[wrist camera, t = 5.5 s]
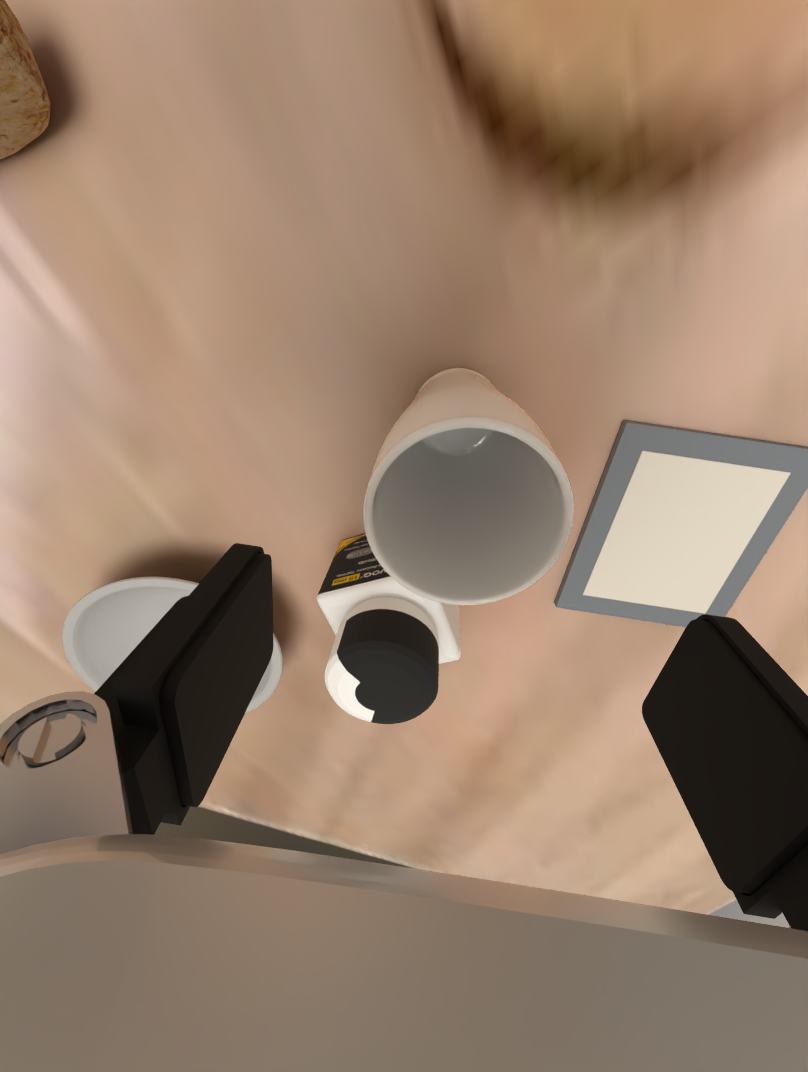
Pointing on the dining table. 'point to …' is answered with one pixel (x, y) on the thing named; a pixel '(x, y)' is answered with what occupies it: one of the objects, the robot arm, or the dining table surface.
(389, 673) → the medicine bottle
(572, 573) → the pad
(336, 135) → the dining table surface
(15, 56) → the brown thick ring
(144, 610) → the dish
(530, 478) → the drinking glass
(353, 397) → the dining table surface
